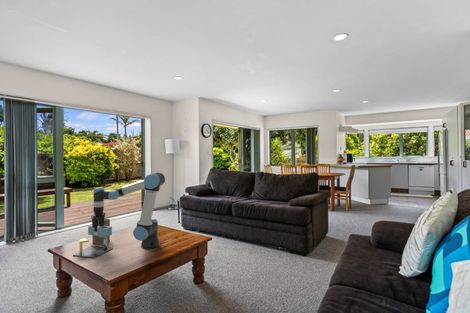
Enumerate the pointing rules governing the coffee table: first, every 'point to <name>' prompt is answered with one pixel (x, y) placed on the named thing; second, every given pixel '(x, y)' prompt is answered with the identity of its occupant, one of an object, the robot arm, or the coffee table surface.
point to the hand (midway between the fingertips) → (98, 234)
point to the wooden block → (101, 239)
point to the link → (100, 231)
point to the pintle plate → (92, 249)
